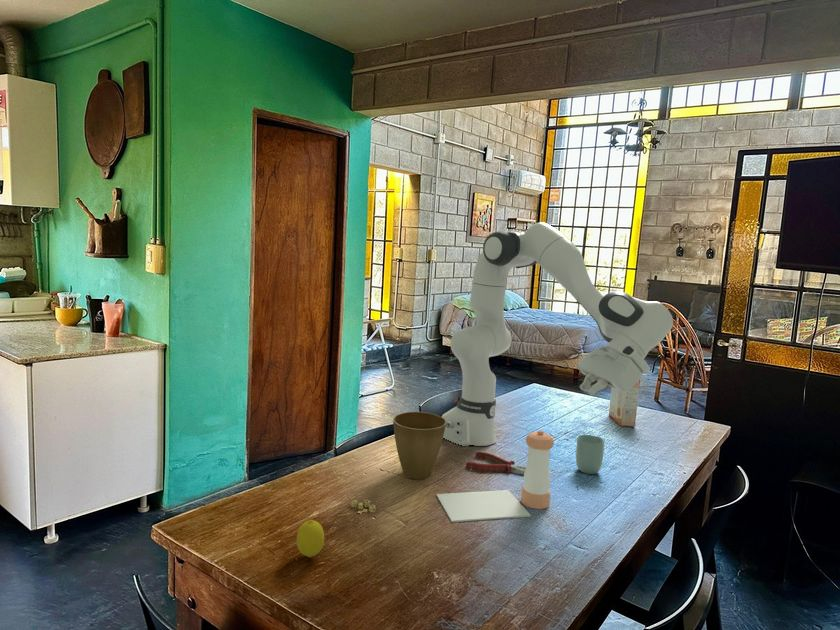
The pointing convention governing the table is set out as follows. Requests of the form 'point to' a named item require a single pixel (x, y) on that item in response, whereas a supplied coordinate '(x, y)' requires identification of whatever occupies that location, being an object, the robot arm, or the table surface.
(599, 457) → the cup
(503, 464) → the pliers
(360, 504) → the dice set
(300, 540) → the lemon
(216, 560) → the table surface
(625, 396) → the cracker box
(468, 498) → the mat
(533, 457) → the pepper shaker
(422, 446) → the plant pot
